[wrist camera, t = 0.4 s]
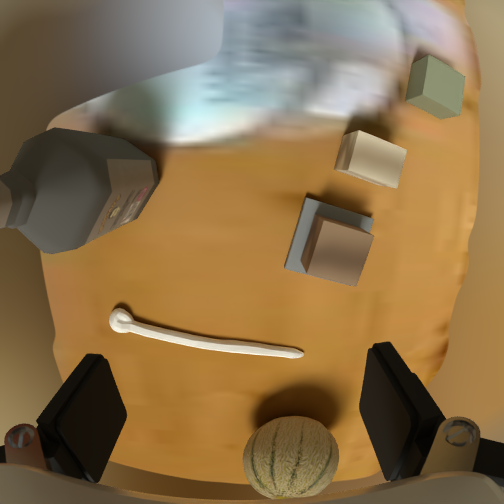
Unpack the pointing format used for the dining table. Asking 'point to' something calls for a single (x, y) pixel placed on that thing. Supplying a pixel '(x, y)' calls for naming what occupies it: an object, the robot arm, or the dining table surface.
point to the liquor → (74, 188)
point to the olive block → (435, 88)
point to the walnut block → (335, 250)
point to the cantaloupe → (291, 458)
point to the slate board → (305, 223)
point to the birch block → (370, 159)
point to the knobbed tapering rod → (196, 338)
